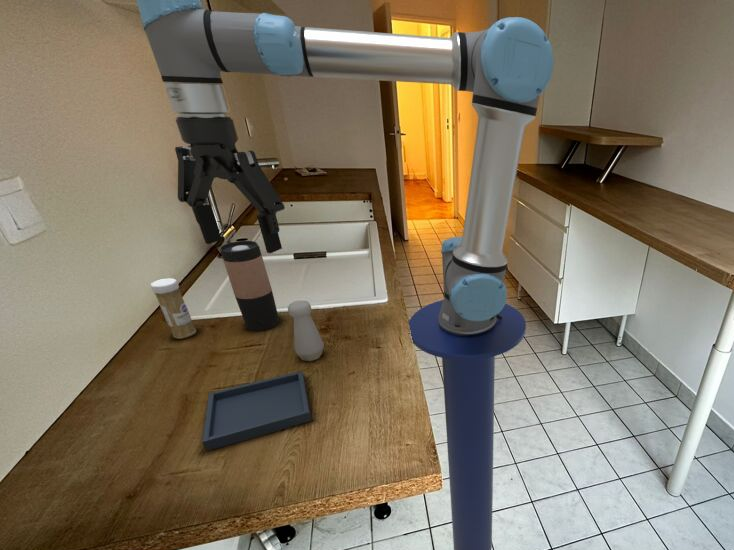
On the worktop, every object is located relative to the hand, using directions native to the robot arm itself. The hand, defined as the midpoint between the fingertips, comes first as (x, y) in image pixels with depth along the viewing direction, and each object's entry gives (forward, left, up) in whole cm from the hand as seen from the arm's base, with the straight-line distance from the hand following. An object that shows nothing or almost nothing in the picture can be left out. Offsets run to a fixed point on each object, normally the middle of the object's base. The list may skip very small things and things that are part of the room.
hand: (243, 246), depth 75 cm
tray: (+4, +15, -26) cm, 30 cm away
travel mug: (+3, -20, -26) cm, 33 cm away
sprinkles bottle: (+19, -22, -26) cm, 39 cm away
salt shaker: (-6, 0, -26) cm, 27 cm away
